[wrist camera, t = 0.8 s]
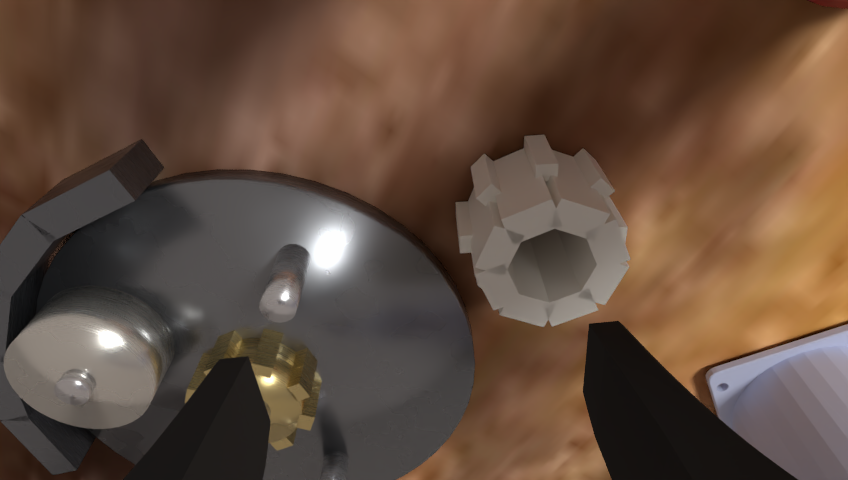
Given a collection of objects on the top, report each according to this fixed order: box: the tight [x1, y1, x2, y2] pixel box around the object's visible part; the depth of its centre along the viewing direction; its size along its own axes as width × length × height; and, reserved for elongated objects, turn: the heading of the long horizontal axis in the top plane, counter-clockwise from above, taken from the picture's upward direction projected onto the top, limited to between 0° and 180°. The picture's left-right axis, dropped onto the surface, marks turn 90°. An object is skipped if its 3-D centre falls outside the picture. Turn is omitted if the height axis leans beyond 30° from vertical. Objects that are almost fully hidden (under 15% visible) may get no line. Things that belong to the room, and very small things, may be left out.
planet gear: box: [456, 135, 630, 327], centre depth 20 cm, size 5×5×4 cm
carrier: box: [0, 139, 475, 480], centre depth 24 cm, size 19×20×4 cm
